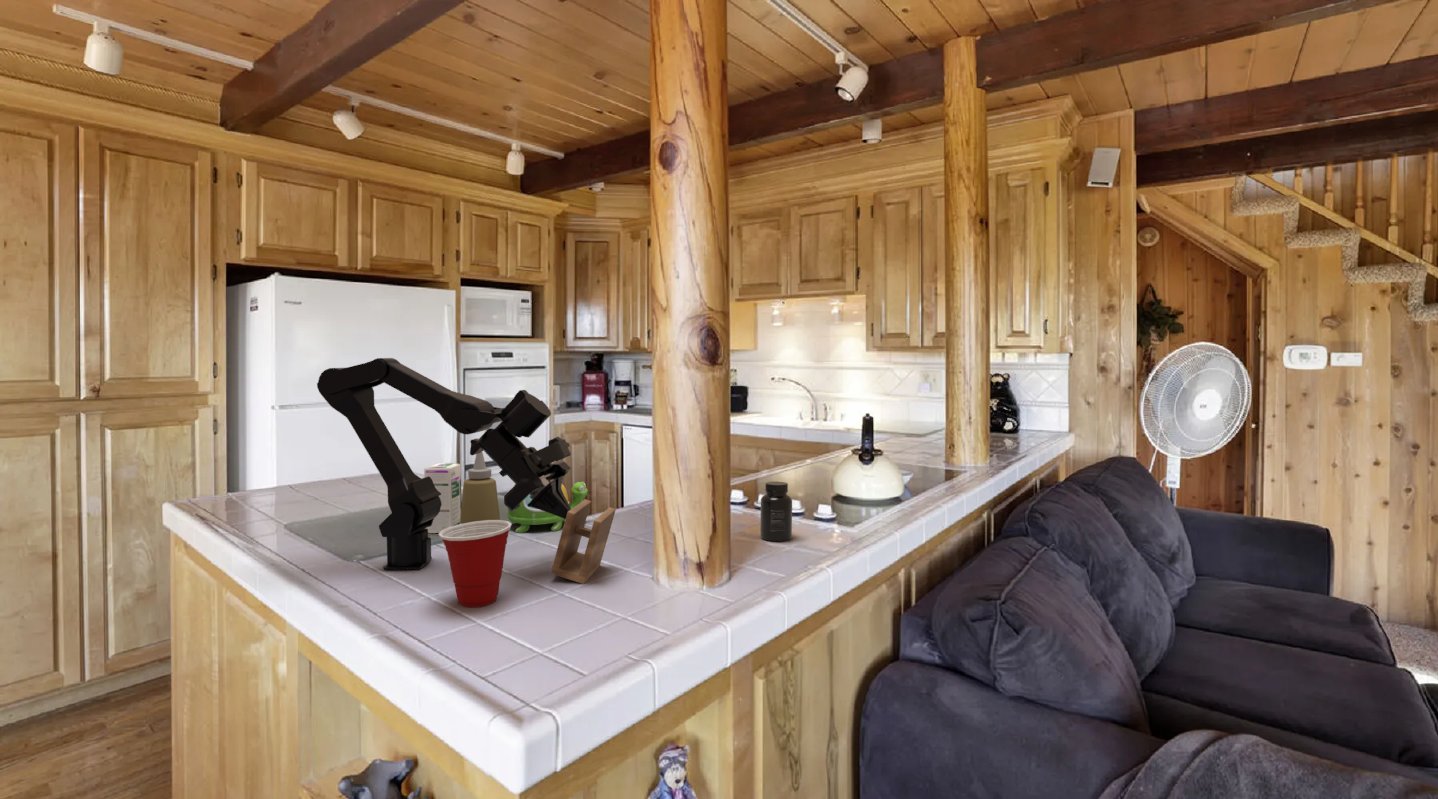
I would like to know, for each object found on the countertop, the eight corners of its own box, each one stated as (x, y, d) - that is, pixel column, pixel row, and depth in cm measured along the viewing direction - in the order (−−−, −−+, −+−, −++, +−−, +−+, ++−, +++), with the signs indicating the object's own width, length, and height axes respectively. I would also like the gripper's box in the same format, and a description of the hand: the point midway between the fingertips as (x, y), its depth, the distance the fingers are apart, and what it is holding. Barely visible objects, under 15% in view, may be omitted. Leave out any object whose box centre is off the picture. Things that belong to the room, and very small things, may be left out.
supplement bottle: (797, 537, 147) (798, 482, 146) (782, 544, 141) (784, 487, 140) (769, 532, 150) (770, 479, 150) (754, 538, 145) (755, 483, 144)
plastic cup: (456, 587, 112) (456, 516, 111) (521, 589, 112) (521, 518, 111) (426, 612, 101) (425, 534, 100) (497, 614, 101) (497, 536, 100)
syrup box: (452, 534, 144) (451, 467, 143) (424, 533, 144) (423, 466, 143) (462, 527, 150) (462, 462, 149) (436, 526, 150) (435, 462, 149)
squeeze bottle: (487, 542, 138) (486, 456, 137) (451, 540, 140) (451, 454, 139) (507, 532, 146) (507, 450, 145) (473, 530, 148) (472, 448, 147)
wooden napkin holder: (550, 573, 116) (567, 511, 114) (569, 555, 125) (585, 499, 124) (583, 584, 115) (600, 522, 114) (599, 565, 125) (615, 509, 124)
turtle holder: (594, 528, 152) (594, 475, 151) (511, 536, 144) (510, 480, 143) (581, 515, 163) (582, 466, 162) (503, 522, 155) (503, 471, 154)
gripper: (521, 430, 110) (587, 498, 109) (559, 419, 128) (616, 477, 128) (475, 476, 111) (541, 544, 111) (520, 459, 130) (576, 517, 129)
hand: (572, 518), depth 120 cm, fingers closed
